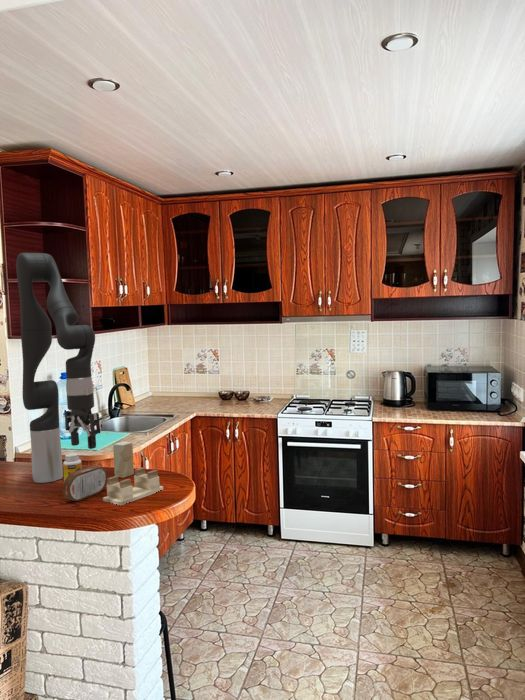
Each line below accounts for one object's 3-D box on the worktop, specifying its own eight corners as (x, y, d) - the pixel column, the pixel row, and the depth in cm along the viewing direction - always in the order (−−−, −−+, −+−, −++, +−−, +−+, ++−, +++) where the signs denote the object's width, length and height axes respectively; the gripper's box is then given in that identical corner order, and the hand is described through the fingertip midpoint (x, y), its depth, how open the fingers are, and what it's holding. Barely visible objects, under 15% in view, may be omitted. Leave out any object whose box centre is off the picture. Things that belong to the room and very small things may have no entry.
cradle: (103, 500, 154) (101, 479, 153) (146, 485, 166) (145, 466, 166) (120, 505, 149) (119, 483, 148) (163, 489, 161) (162, 469, 161)
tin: (102, 488, 166) (100, 462, 165) (109, 489, 164) (107, 463, 164) (62, 504, 153) (60, 475, 152) (70, 505, 151) (68, 476, 151)
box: (123, 478, 176) (121, 445, 175) (114, 476, 178) (112, 444, 177) (134, 473, 180) (132, 441, 180) (125, 472, 182) (123, 440, 182)
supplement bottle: (67, 490, 166) (64, 457, 165) (62, 485, 170) (60, 454, 170) (85, 486, 169) (83, 454, 168) (80, 482, 173) (78, 451, 173)
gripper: (55, 393, 158) (58, 447, 159) (83, 395, 149) (86, 452, 150) (77, 390, 164) (80, 441, 165) (105, 391, 155) (108, 446, 156)
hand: (83, 446), depth 158 cm, fingers open, 8 cm apart
